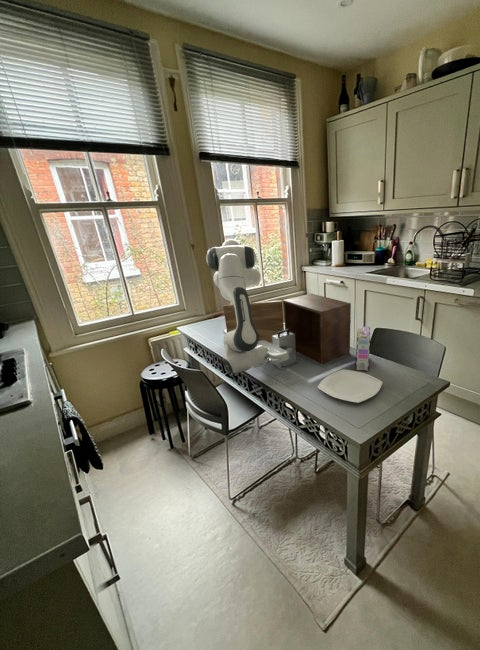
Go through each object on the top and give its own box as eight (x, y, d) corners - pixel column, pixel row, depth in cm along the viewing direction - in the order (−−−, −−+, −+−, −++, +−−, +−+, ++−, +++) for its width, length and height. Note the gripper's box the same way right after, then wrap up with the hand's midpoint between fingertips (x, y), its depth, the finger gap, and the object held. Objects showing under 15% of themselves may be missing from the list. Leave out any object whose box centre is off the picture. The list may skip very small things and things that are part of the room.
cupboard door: (231, 349, 168) (224, 302, 157) (284, 344, 171) (280, 297, 161) (230, 355, 162) (223, 305, 151) (285, 349, 165) (281, 300, 155)
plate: (360, 411, 112) (360, 407, 111) (309, 391, 126) (309, 387, 125) (389, 385, 128) (390, 381, 127) (341, 369, 142) (342, 366, 141)
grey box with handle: (274, 365, 149) (271, 331, 142) (289, 359, 154) (287, 326, 147) (281, 369, 145) (278, 334, 138) (296, 363, 150) (294, 329, 143)
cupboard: (322, 366, 146) (321, 311, 135) (286, 349, 166) (283, 300, 155) (349, 355, 156) (350, 303, 145) (312, 340, 176) (310, 293, 165)
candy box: (368, 371, 139) (370, 337, 133) (355, 370, 141) (356, 336, 134) (369, 358, 152) (370, 325, 145) (356, 357, 153) (357, 325, 146)
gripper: (272, 355, 130) (298, 346, 137) (247, 342, 144) (272, 334, 152) (273, 369, 132) (299, 359, 140) (248, 354, 147) (273, 346, 155)
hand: (284, 346), depth 146 cm, fingers open, 8 cm apart
